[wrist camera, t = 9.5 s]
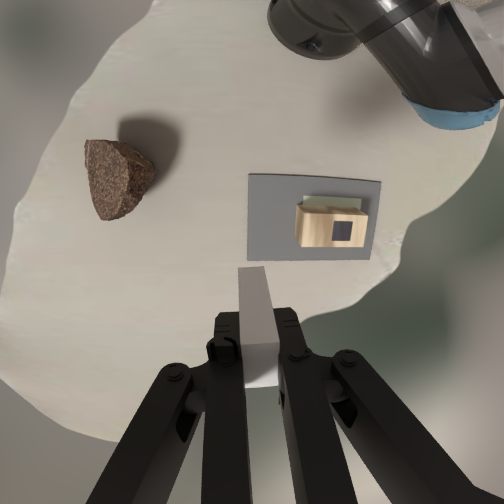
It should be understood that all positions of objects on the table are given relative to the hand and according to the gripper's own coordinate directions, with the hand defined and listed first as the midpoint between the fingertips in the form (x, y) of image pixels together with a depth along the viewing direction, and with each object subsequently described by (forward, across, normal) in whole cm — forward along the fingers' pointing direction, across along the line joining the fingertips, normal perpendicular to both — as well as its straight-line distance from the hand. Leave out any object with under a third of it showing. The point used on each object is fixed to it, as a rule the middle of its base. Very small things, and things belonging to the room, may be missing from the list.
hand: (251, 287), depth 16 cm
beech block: (+24, +8, -4) cm, 26 cm away
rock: (+27, -17, +5) cm, 32 cm away
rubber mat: (+27, +12, -4) cm, 30 cm away
